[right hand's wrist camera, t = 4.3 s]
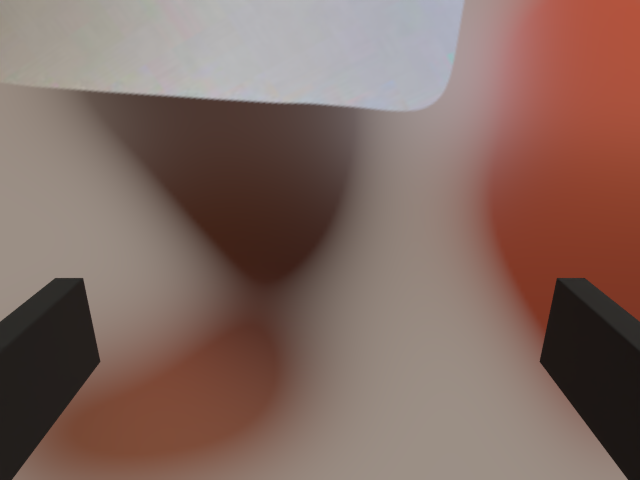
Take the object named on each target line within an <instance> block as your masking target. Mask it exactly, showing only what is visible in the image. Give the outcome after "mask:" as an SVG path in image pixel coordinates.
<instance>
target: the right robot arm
mask: <svg viewBox="0 0 640 480" xmlns="http://www.w3.org/2000/svg"><path fill="white" fill-rule="evenodd" d="M99 363H100V358H99V353H98V348H97V344H96V339H95V334H94V329H93V324H92V319H91V314H90V310H89V305H88V300H87V295H86V290H85V285H84V281H83V278H55V279H54V280H52V281H51V282H50V283H49V284H47V285H46V286H45V287H44V288H42V289H41V290H40V291H39V292H37V293H36V294H35V295H33V296H32V297H31V298H30V299H28V300H27V301H26V302H25V303H23V304H22V305H21V306H20V307H18V308H17V309H16V310H15V311H13V312H12V313H11V314H10V315H8V316H7V317H6V318H4V319H3V320H2V321H1V322H0V480H12V479H13V477H14V476H15V475H16V473H17V472H18V471H19V469H20V468H21V467H22V465H23V464H24V463H25V461H26V460H27V459H28V457H29V456H30V455H31V453H32V452H33V451H34V449H35V448H36V447H37V445H38V444H39V443H40V441H41V440H42V439H43V437H44V436H45V435H46V433H47V432H48V431H49V429H50V428H51V427H52V425H53V424H54V423H55V421H56V420H57V419H58V417H59V416H60V415H61V413H62V412H63V411H64V409H65V408H66V407H67V405H68V404H69V403H70V401H71V400H72V399H73V397H74V396H75V395H76V393H77V392H78V391H79V389H80V388H81V387H82V385H83V384H84V383H85V381H86V380H87V379H88V377H89V376H90V375H91V373H92V372H93V371H94V369H95V368H96V367H97V365H98V364H99ZM540 363H541V364H542V365H543V367H544V368H545V369H546V370H547V372H548V373H549V375H550V376H551V377H552V379H553V380H554V381H555V383H556V384H557V385H558V387H559V388H560V389H561V391H562V392H563V393H564V395H565V396H566V397H567V399H568V400H569V401H570V403H571V404H572V405H573V407H574V408H575V409H576V411H577V412H578V413H579V415H580V416H581V417H582V419H583V420H584V421H585V423H586V424H587V425H588V427H589V428H590V429H591V431H592V432H593V433H594V435H595V436H596V437H597V439H598V440H599V441H600V443H601V444H602V445H603V447H604V448H605V449H606V451H607V452H608V453H609V455H610V456H611V457H612V459H613V460H614V461H615V463H616V464H617V465H618V467H619V468H620V469H621V471H622V472H623V473H624V475H625V476H626V477H627V479H628V480H640V322H639V321H638V320H637V319H635V318H634V317H633V316H632V315H630V314H629V313H628V312H627V311H625V310H624V309H623V308H622V307H620V306H619V305H618V304H617V303H615V302H614V301H613V300H611V299H610V298H609V297H608V296H606V295H605V294H604V293H603V292H601V291H600V290H599V289H598V288H596V287H595V286H594V285H593V284H591V283H590V282H589V281H588V280H586V279H585V278H557V281H556V285H555V290H554V295H553V300H552V305H551V310H550V314H549V319H548V324H547V329H546V334H545V339H544V344H543V348H542V353H541V358H540Z"/></svg>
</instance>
